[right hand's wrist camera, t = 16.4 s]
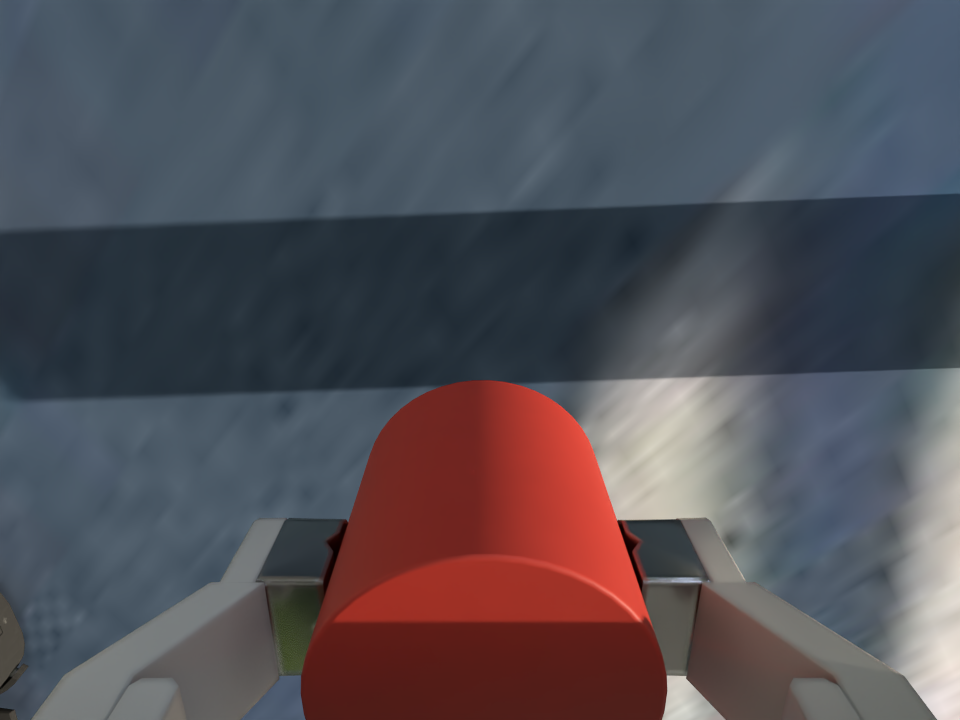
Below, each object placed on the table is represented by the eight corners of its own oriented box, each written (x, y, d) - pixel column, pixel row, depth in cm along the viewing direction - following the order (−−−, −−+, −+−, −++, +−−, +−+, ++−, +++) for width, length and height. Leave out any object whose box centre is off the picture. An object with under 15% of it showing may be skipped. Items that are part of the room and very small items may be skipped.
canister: (423, 339, 11) (383, 498, 7) (641, 436, 12) (742, 640, 7) (333, 529, 13) (250, 766, 8) (531, 604, 14) (558, 860, 9)
